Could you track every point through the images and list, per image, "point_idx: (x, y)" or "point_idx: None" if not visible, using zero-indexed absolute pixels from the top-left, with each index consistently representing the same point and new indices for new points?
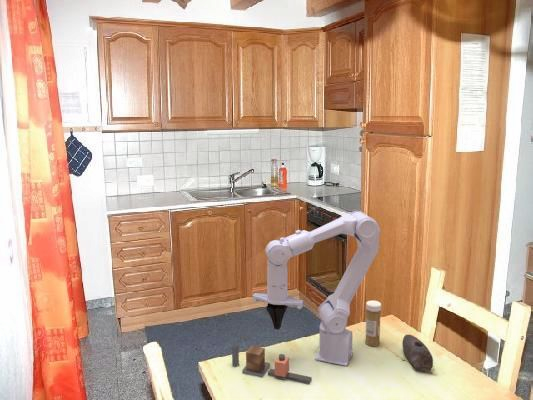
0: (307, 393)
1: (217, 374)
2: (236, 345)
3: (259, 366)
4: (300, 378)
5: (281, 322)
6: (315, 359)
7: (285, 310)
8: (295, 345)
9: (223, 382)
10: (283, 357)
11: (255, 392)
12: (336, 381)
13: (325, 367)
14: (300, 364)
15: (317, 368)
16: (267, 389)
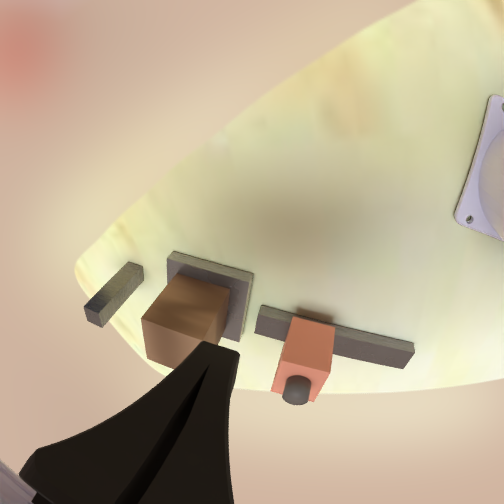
0: (388, 387)
1: (118, 312)
2: (94, 314)
3: (218, 342)
4: (375, 359)
5: (231, 382)
6: (455, 219)
7: (231, 502)
8: (347, 70)
9: None
10: (304, 401)
11: (243, 381)
12: (487, 337)
13: (481, 267)
14: (384, 252)
15: (450, 276)
16: (272, 375)
